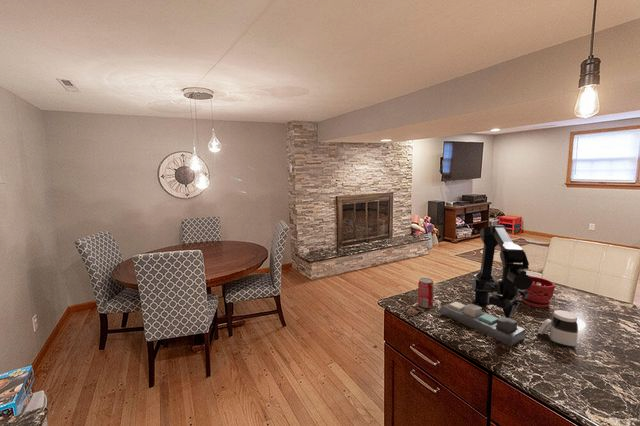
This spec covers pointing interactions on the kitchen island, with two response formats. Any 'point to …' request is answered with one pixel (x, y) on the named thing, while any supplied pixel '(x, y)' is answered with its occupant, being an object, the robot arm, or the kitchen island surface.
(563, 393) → the kitchen island surface
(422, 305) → the soda can
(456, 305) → the key ivory
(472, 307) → the key grey
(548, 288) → the plant pot
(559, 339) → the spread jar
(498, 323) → the key black
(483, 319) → the key teal
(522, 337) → the key panel
